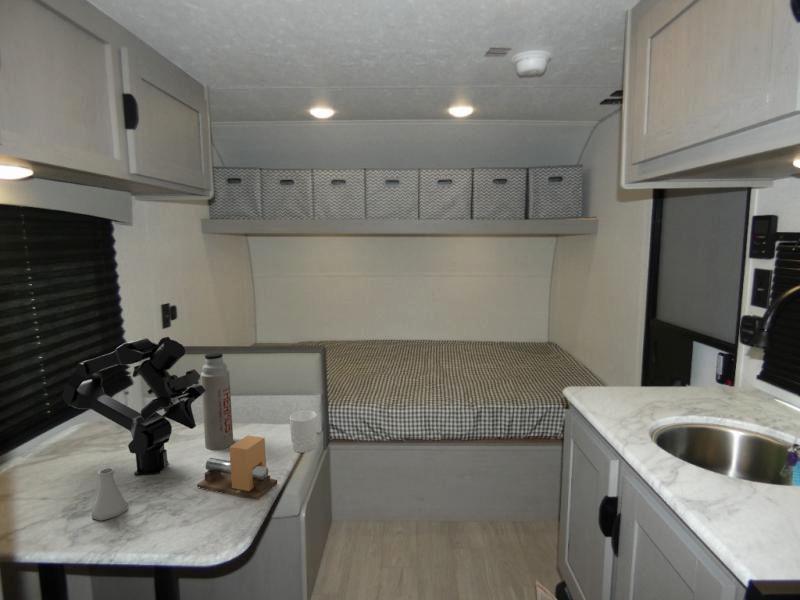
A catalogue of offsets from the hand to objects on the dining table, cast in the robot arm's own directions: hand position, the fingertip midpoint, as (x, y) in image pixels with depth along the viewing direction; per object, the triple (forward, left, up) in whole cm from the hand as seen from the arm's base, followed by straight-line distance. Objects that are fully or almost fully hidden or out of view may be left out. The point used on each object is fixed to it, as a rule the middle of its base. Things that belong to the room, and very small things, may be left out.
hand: (193, 427), depth 120 cm
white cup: (+26, +14, -14) cm, 33 cm away
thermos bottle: (0, +20, -14) cm, 24 cm away
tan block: (+15, -7, -12) cm, 21 cm away
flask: (-15, -14, -14) cm, 25 cm away
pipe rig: (+12, -6, -13) cm, 19 cm away
